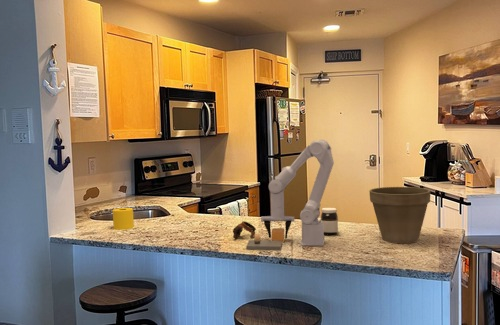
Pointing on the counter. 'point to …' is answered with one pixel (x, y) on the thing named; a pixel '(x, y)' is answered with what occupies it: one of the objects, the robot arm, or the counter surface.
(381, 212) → the plant pot
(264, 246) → the grey flat block
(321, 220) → the spread jar
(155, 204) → the counter surface
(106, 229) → the counter surface
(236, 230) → the brown curved arch
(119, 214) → the yellow toilet paper roll
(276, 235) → the solid orange cube
